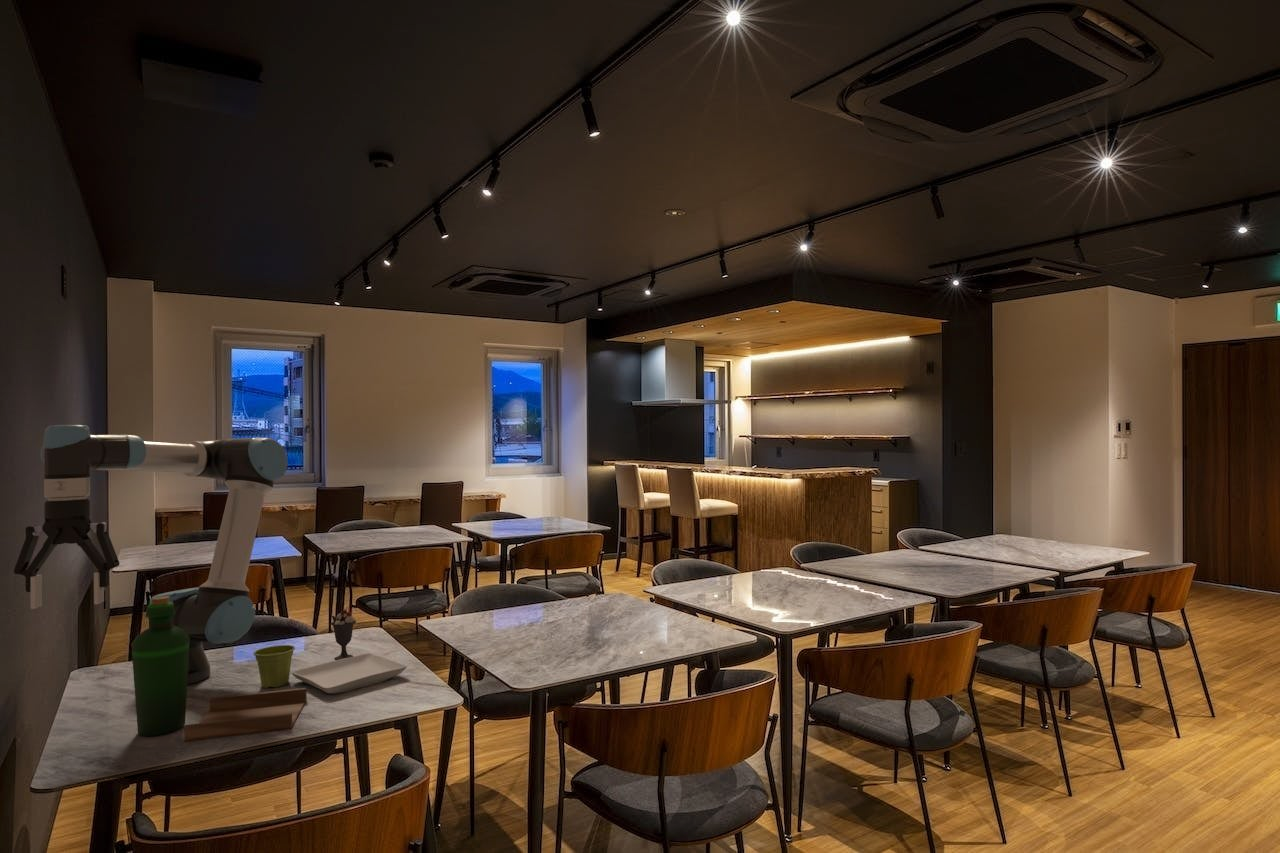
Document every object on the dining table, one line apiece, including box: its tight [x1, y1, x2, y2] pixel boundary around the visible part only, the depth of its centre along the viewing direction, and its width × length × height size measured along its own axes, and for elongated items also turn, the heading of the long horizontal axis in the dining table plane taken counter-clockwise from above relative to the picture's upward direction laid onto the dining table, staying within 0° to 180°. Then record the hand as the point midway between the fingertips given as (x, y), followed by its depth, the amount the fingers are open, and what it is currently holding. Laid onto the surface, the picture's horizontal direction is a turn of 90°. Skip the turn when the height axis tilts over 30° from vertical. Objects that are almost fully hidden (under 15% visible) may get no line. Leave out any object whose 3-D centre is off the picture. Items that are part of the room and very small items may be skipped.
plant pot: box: [252, 644, 296, 688], centre depth 183 cm, size 9×9×9 cm
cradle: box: [183, 687, 308, 742], centre depth 159 cm, size 18×20×3 cm
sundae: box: [329, 603, 357, 661], centre depth 205 cm, size 7×7×15 cm
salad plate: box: [291, 652, 407, 694], centre depth 185 cm, size 21×21×3 cm
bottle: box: [130, 596, 190, 737], centre depth 155 cm, size 11×11×28 cm
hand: (68, 605), depth 151 cm, fingers open, 10 cm apart
